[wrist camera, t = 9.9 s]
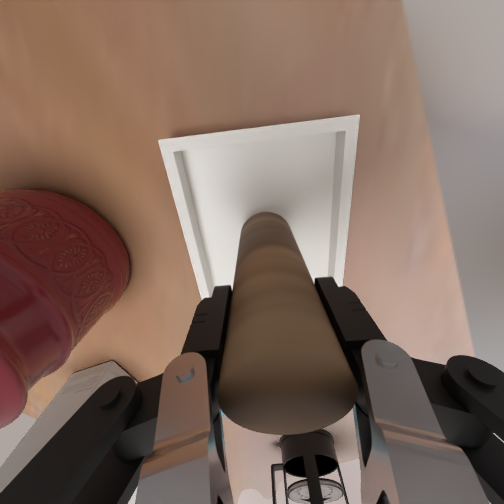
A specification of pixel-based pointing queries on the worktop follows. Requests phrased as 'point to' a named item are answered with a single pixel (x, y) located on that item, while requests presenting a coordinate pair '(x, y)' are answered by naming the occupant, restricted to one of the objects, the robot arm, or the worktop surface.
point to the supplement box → (57, 416)
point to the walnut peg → (280, 340)
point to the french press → (309, 468)
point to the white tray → (264, 192)
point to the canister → (50, 286)
